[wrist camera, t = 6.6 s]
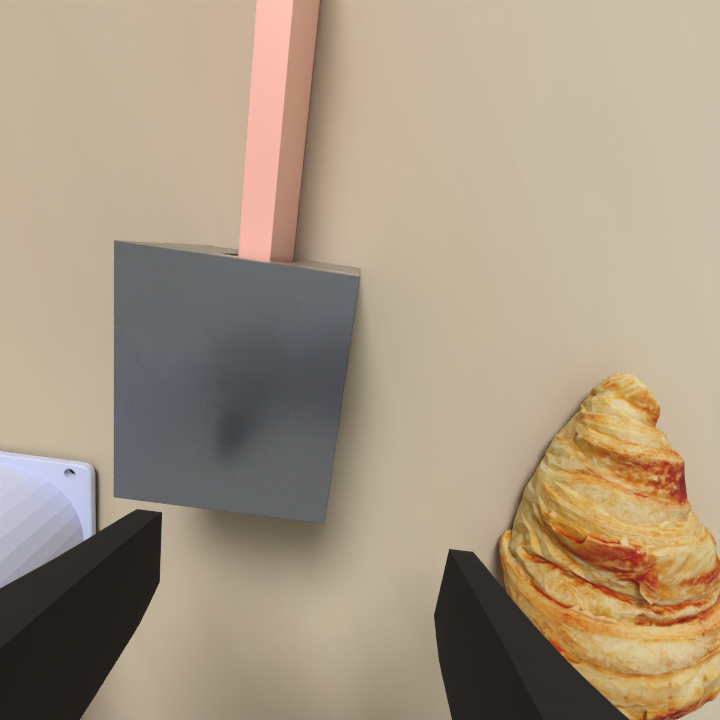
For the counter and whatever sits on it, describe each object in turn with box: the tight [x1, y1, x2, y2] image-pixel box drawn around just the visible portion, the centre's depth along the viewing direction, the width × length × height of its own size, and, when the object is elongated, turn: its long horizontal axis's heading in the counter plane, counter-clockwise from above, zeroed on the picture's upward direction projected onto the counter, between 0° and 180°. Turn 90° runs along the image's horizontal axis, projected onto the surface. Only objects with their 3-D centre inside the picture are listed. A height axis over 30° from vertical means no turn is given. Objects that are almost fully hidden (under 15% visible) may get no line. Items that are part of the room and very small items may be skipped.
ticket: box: [238, 0, 320, 263], centre depth 14 cm, size 1×13×5 cm, turn 172°
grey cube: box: [114, 240, 360, 524], centre depth 16 cm, size 7×8×7 cm
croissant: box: [499, 373, 720, 720], centre depth 20 cm, size 21×10×8 cm, turn 5°
